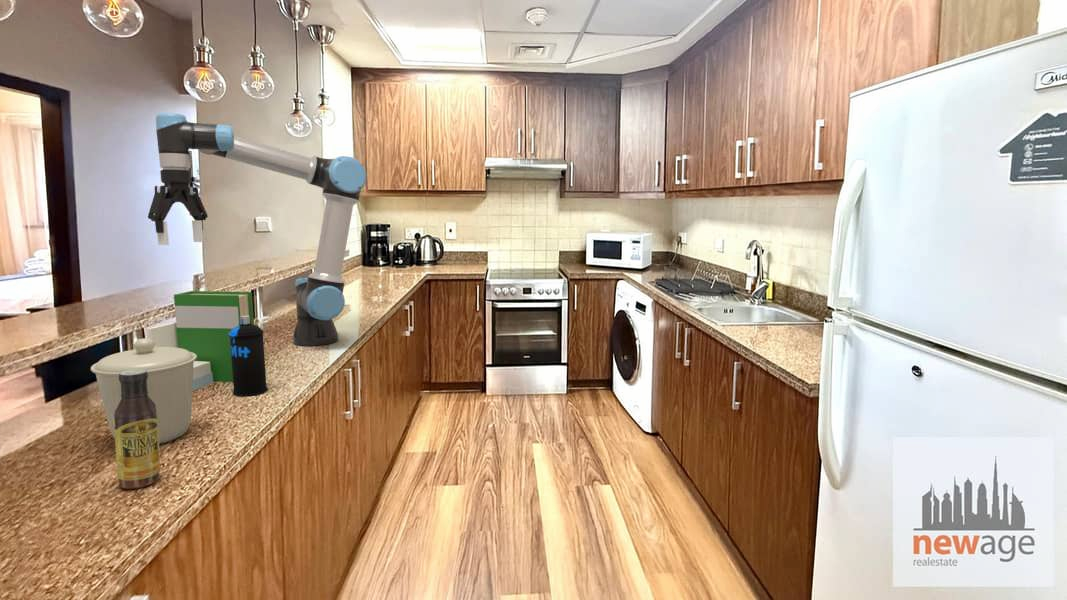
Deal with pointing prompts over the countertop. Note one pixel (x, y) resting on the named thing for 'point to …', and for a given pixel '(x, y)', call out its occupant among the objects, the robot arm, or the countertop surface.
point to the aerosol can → (248, 359)
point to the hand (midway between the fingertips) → (181, 243)
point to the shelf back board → (164, 335)
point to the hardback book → (211, 326)
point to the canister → (152, 384)
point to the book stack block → (201, 374)
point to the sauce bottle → (136, 432)
